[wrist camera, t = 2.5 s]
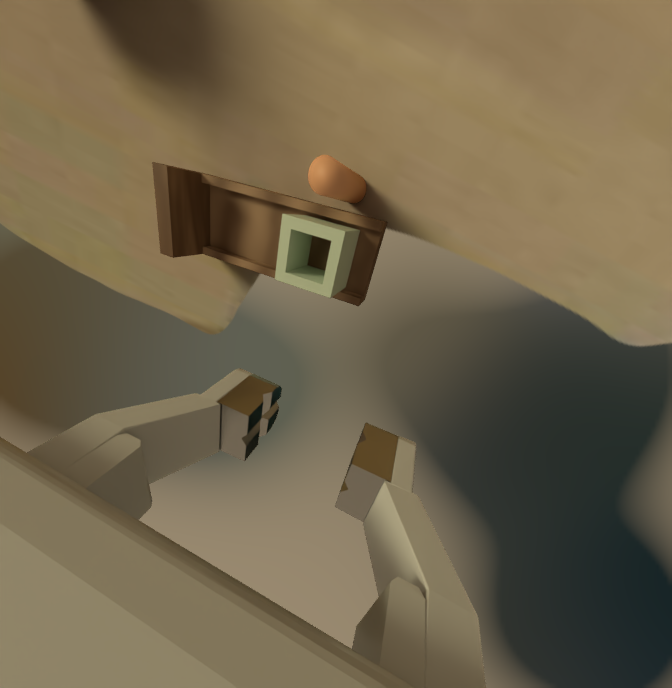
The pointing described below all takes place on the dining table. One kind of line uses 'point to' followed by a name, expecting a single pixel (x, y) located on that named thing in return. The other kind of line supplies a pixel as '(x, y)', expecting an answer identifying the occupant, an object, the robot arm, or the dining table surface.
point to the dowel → (335, 180)
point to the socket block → (297, 250)
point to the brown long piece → (251, 225)
